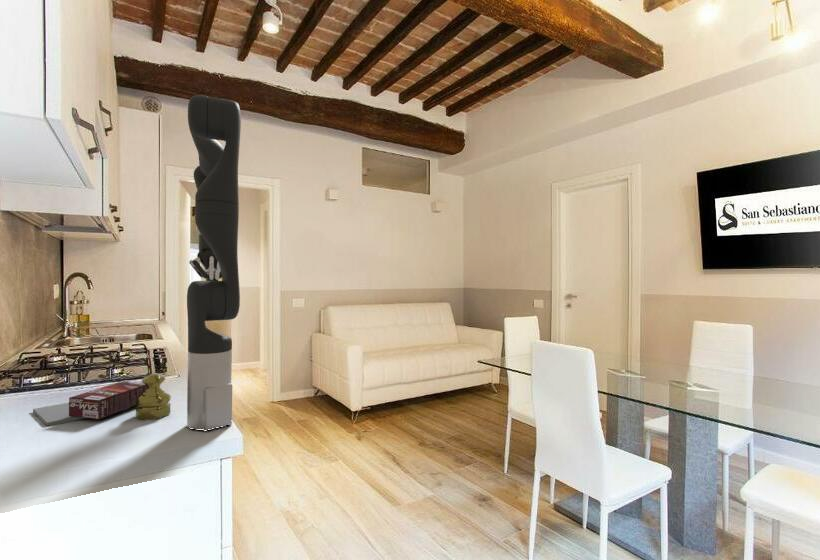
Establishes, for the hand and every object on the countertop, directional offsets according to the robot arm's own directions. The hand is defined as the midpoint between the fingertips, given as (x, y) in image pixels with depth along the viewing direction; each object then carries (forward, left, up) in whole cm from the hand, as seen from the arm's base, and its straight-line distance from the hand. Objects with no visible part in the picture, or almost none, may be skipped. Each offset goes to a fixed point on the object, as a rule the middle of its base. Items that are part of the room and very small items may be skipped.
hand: (212, 292), depth 127 cm
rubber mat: (+4, +31, -29) cm, 42 cm away
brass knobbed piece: (-12, +20, -29) cm, 37 cm away
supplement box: (+2, +19, -26) cm, 32 cm away
